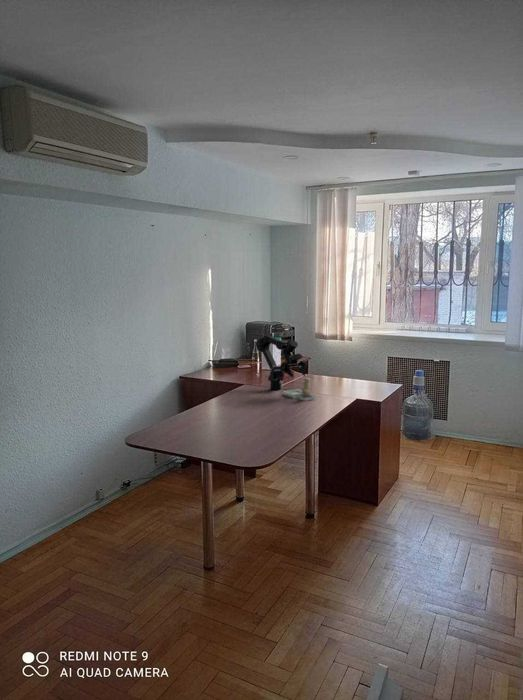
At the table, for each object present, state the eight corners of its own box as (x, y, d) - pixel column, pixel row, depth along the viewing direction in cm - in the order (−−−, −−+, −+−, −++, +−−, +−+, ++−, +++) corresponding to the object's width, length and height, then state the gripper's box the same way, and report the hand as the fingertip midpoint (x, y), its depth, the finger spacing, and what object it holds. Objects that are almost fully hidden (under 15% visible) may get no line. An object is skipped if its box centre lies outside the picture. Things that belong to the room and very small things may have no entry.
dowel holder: (297, 398, 320) (297, 395, 320) (307, 397, 324) (307, 394, 324) (304, 401, 314) (304, 397, 314) (314, 399, 318) (314, 396, 318)
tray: (282, 395, 330) (282, 391, 330) (297, 393, 336) (297, 389, 336) (293, 398, 320) (293, 394, 320) (308, 396, 327) (308, 392, 326)
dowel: (300, 399, 318) (300, 378, 316) (303, 397, 322) (303, 377, 321) (308, 400, 316) (308, 379, 314) (310, 398, 320) (311, 378, 319)
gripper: (282, 349, 321) (292, 369, 313) (306, 347, 331) (316, 367, 323) (275, 360, 329) (284, 380, 321) (298, 358, 339) (308, 377, 331)
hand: (298, 376), depth 324 cm, fingers open, 9 cm apart
